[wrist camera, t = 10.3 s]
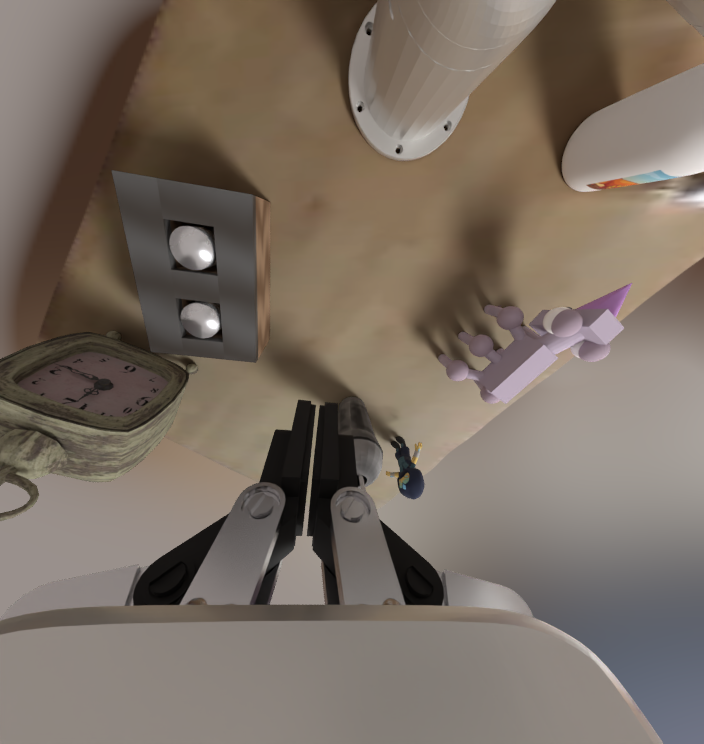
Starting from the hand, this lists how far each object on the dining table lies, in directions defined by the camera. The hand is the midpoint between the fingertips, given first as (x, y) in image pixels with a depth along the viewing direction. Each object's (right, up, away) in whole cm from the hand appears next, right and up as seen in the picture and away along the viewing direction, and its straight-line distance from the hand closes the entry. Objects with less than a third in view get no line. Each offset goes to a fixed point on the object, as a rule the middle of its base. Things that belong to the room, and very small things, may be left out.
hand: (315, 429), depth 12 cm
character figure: (+10, -11, +40) cm, 42 cm away
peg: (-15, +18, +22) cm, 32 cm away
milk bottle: (+30, +28, +20) cm, 46 cm away
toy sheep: (+24, +10, +30) cm, 40 cm away
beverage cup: (+2, -4, +35) cm, 35 cm away
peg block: (-15, +16, +24) cm, 32 cm away
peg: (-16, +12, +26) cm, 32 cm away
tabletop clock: (-29, +4, +30) cm, 41 cm away
